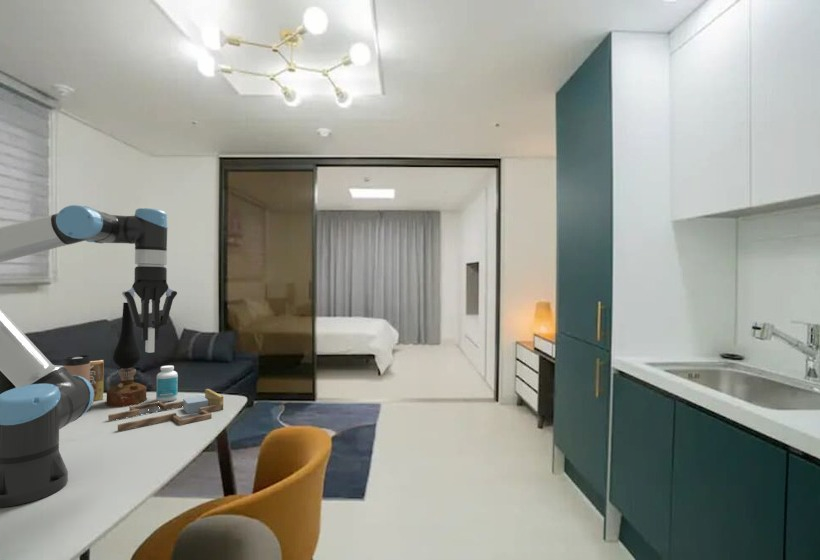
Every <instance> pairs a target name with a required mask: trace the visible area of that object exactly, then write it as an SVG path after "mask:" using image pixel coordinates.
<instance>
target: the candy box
mask: <svg viewBox="0 0 820 560" xmlns="http://www.w3.org/2000/svg"><path fill="white" fill-rule="evenodd" d="M104 365H105V364H104V359H99V360H90V384H91V385H92V387H93V390H94V398H93V402H94V401H99V400H102V401H103V400H104V370H105V369H104Z"/></svg>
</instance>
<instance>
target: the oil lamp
mask: <svg viewBox="0 0 820 560" xmlns="http://www.w3.org/2000/svg"><path fill="white" fill-rule="evenodd" d="M121 318H122V321H121V328H120V336H119V339H118V342H117V345H116V347H115V349H114V350H113V355H112V360H113V363H115V365H117V366H118V367H119V368H120V369H119V370H118V371H117V374H118V375H119V377H120V380H119V381H120V383H118V384H115V385H114V386H112V387H110V388H108V389H107V390H106V401H105V406H107V407H110V408H111V407H112V408H122V407H123V406H124V407H131V406H135V405H134V404H136V405H140V404H142V402H143V403H144V401H145V402H147V401H148V397H147V386H146V385H144V384H142V383H139V382H134V380H135V378H134V376H135V374H136V372H137V369H136V368H134V367H135V366H136V365H137V364H138V363H139V362H140V361H141V358H142V351H141V348H140V347H139V345H138V342H137V339H136V336H135V329H134V327H135V326H134V324H133V321H132V317H131V313H130V310H129V306H128V302H123V303H122V316H121ZM139 403H140V404H139ZM130 405H131V406H130Z"/></svg>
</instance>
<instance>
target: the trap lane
mask: <svg viewBox="0 0 820 560" xmlns="http://www.w3.org/2000/svg"><path fill="white" fill-rule="evenodd" d="M204 397H205V398H206V399H207V400H208V403H209V404H208V406H207V407H202V408H199V412H195V413H189V414H186V415H182V416H178V414H177V413H176V412H172V413H168V414H162V415H159V416H154V417H153V416H152V417H148V418H144V419H139V420H133V421H128V422H123V423H118V424H117V432H118V431H119V432H122V430H124V431H127V429H129V430H132V429H131V428H133V429H136V428H135V427H138V428H141V427H140V426H143V427H146V426H145V425H147V426H150V425H149V424H152V425H155V424H154V423H157V424H160V423H159V422H162V423H164V422H163V421H166V422H169V421H168V420H171V421H173V420H174V421H175V424H177V423H178V424H177V425H179V426H182V424H183V425H187V424H191V423H195V422H196V423H197V422H200V421H205V420H209V419H212V413H213V412H217V411H222V410H224V395H222V394H220V393H217V392H215V391H214V390H212V389H210V388H205V389H204ZM210 404H211V405H210ZM158 406H159V407H160V409H159V407H158ZM182 406H183V400H181V401H175V402H170V403H165V402H161V401H159V402H158V401H154V402H150V403H149V402H148V403H143V404H136V405H131V406H129V410H126V411H120V412H118V413H116V412H114V413H110V414H108V416H107V417H108V418H107V421H108V420H109V421H108V422H113V421H112V420H114V421H117V420H116V419H119V420H122V419H121V418H124V419H127V418H126V417H129V418H132V417H131V416H134V417H137V416H136V415H139V416H142V415H141V414H145V415H147V414H146V413H150V414H152V413H151V412H155V413H157V412H156V411H160V412H163V411H162V410H165V411H168V410H167V409H170V410H173V409H172V408H175V409H178V408H177V407H180V408H183V407H182ZM148 409H149V411H148ZM174 421H173V422H174Z"/></svg>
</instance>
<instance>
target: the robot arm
mask: <svg viewBox="0 0 820 560" xmlns="http://www.w3.org/2000/svg"><path fill="white" fill-rule="evenodd" d="M167 216H168V215H167V213H166V211H163V210H161V209H156V208H140V207H139V208H137V209H135V212H134V215H116V214H110V213H107V212H102V211H100V210H97V209H95V208H92V207H89V206H86V205H85V206H84V205H79V204H78V205H77V204H72V205H68V206H65V207H63V208H62V209H61V210H59V211H58V213H55V214H51V215H46V216H42V217H38V218H34V219H33V218H32V219H28V220H25V221H21V222H18V223H12V224H8V225H5V226H0V263H3V262H7V261H10V260H15V259H20V258H22V257H26V256H31V255H35V254H37V253H41V252H45V251H50V250H53V249H57V248H61V247H64V246H69V245H72V244H77V243H82V242H87V243H95V244H129V245H130V244H132V245H133V244H134V264H135V265H137V266H135V267H134V280H133V281H134V282H133V284H132V287H131V288H130V289H128V290H124V291H122V296H123V297H124V298H125V300H126V303H128V306H129V310H130V313H131V317H132V321H133V326H134V327H137V328H140V329H141V340H142V341H145V350H144V351H145V353H149V354H150V353H151V354H152V353H155V341H156V340H158V339H159V336H160V335H159V334H160V333H159V331H160V330H159V329H160V328H161V327H163V326H166V325H167V323H168V320H169V315H170V311H171V308H172V305H173V301H174V300H175V298H176V296H177V295H178V292H177V291H176V290H173V289H171V288H170V287H169V285H168V282H167V281H168V279H167V278H168V276H167V274H168V273H167V272H168V271H167V270H168V269H167V267H166V266H167V264H168V229H169V227H168V217H167ZM135 293H136V294H135ZM135 295H137V297H139V298H140V303H141V304H140V305H141V306H140V308H141V309H140V314H139V312H138V308H137V304H136V301H135V298H134V297H135ZM164 295H165V296H166V297H165V300H164V303H163V307H162V311H161V310H160V308H161V307H160V303H161V298H162V297H163V296H164ZM150 301H151V302H150ZM150 303H151V327H149V325H150V320H149V319H150ZM160 311H161V314H160ZM139 315H140V316H139ZM0 372H1V373H2V374H3V375H4V376H5V377H6V378H7V379H8V380H9V381H10V382H11V383H12V385H14V387H13V388H11V389H8V390H5V391H4V392H2V393H0V508H7V507H15V506H20V505H24V504H27V503H32V502H34V501H39V500H40V499H43V498H46V497H48V496H50V495H53V494H55V493H57V492H58V491H59V490H62V489H63V488H64V487H65V486H66V485H67V484H68V483H69V482H68V481H69V471H68V468H67V466H66V464H65V462H64V460H63V457H62V455H61V453H60V430H61V429H63V428H64V427H66V426H68V425H69V424H70V423H73V422H75V421H76V420H78V419H79V418H81V417H83V415H84V414H86V413H87V412H88V411H89V410H88V409H90V408H91V406H92V404H93V402H94V401H93V398H94V390H93V387H92V385H91V384H90V382H89V381H88V380H86V379H85V378H83V377H81V376H75V375H71V374H70V372H69V371H68V370H67V369H66V368H65V367H64V365H55V364H53V363H52V362H51V361H50V360H49V359H48V358H47V357H46V355H44V353H43V352H42V351H41V350H40V349H39V348H38V346H36V344H34V343H33V341H31V339H30V338H29V337H28V336H27V334H25V333H24V331H22V330H21V329H20V328H19V326H18V325H17V324H16V323H15V322H14V321H13V320H12V319H11V318H10V317H9V315H7V313H6V312H4V310H3V309H2V308H1V307H0ZM87 410H88V411H87ZM86 411H87V412H86Z"/></svg>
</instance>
